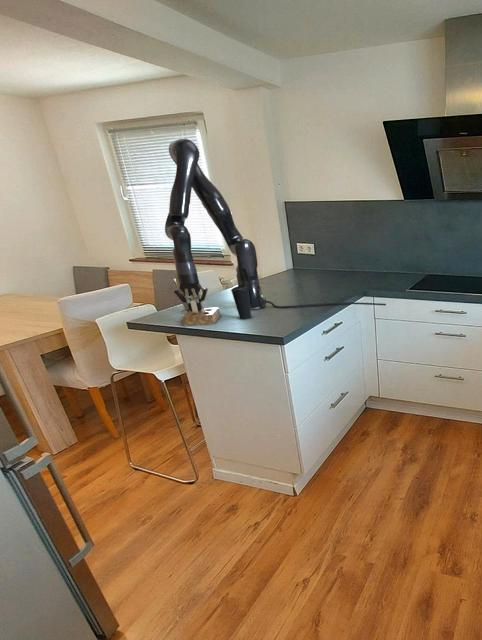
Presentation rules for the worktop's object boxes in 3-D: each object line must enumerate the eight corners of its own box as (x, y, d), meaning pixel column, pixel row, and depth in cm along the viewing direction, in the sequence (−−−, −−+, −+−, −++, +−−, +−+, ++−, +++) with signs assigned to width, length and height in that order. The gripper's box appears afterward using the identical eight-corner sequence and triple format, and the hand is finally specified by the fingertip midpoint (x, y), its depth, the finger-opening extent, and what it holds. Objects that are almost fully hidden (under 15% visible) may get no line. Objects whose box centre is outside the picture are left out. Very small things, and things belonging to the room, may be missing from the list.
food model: (206, 306, 192) (197, 266, 183) (203, 310, 186) (193, 269, 178) (184, 308, 189) (174, 267, 181) (181, 312, 183) (170, 270, 175)
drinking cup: (237, 321, 171) (228, 276, 162) (235, 316, 177) (226, 273, 168) (255, 318, 174) (247, 274, 166) (253, 314, 180) (245, 271, 172)
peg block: (220, 315, 178) (218, 307, 177) (214, 323, 167) (212, 314, 166) (192, 317, 176) (190, 309, 174) (184, 325, 165) (181, 316, 163)
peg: (201, 318, 174) (196, 299, 171) (200, 319, 172) (195, 300, 169) (196, 318, 174) (191, 299, 170) (194, 320, 172) (190, 300, 168)
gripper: (165, 274, 160) (176, 314, 167) (201, 273, 163) (210, 312, 170) (172, 271, 166) (181, 309, 173) (206, 270, 169) (214, 307, 176)
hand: (196, 310), depth 172 cm, fingers closed on peg, 2 cm apart
